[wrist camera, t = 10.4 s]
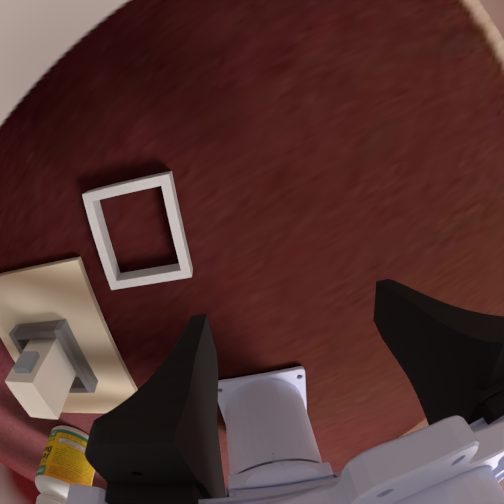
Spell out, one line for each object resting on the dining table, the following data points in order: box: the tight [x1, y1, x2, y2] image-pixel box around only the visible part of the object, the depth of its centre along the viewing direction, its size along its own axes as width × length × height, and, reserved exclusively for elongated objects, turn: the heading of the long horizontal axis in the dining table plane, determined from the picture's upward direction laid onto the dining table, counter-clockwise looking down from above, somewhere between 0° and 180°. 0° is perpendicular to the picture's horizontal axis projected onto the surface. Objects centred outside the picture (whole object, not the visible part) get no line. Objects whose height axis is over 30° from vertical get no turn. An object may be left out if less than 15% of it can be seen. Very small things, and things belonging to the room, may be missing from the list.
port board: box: [0, 256, 138, 413], centre depth 22 cm, size 16×12×2 cm
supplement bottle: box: [35, 425, 95, 504], centre depth 24 cm, size 6×6×11 cm
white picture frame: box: [82, 171, 193, 290], centre depth 20 cm, size 7×6×1 cm
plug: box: [5, 337, 76, 420], centre depth 20 cm, size 4×3×6 cm, turn 7°
